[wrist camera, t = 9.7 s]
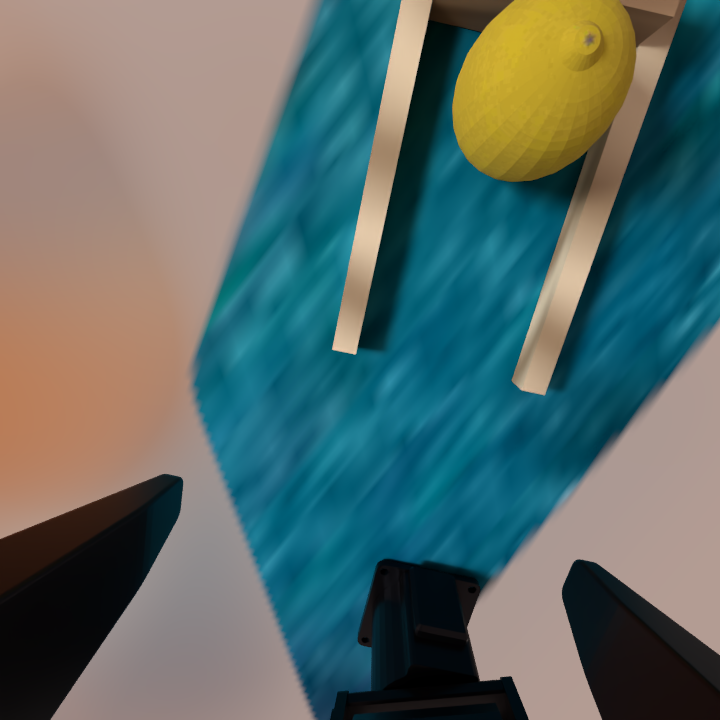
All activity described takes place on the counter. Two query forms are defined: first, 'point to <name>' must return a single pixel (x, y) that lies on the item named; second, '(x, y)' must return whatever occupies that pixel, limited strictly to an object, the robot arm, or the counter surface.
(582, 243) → the channel
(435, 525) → the counter surface
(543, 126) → the lemon
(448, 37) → the counter surface
